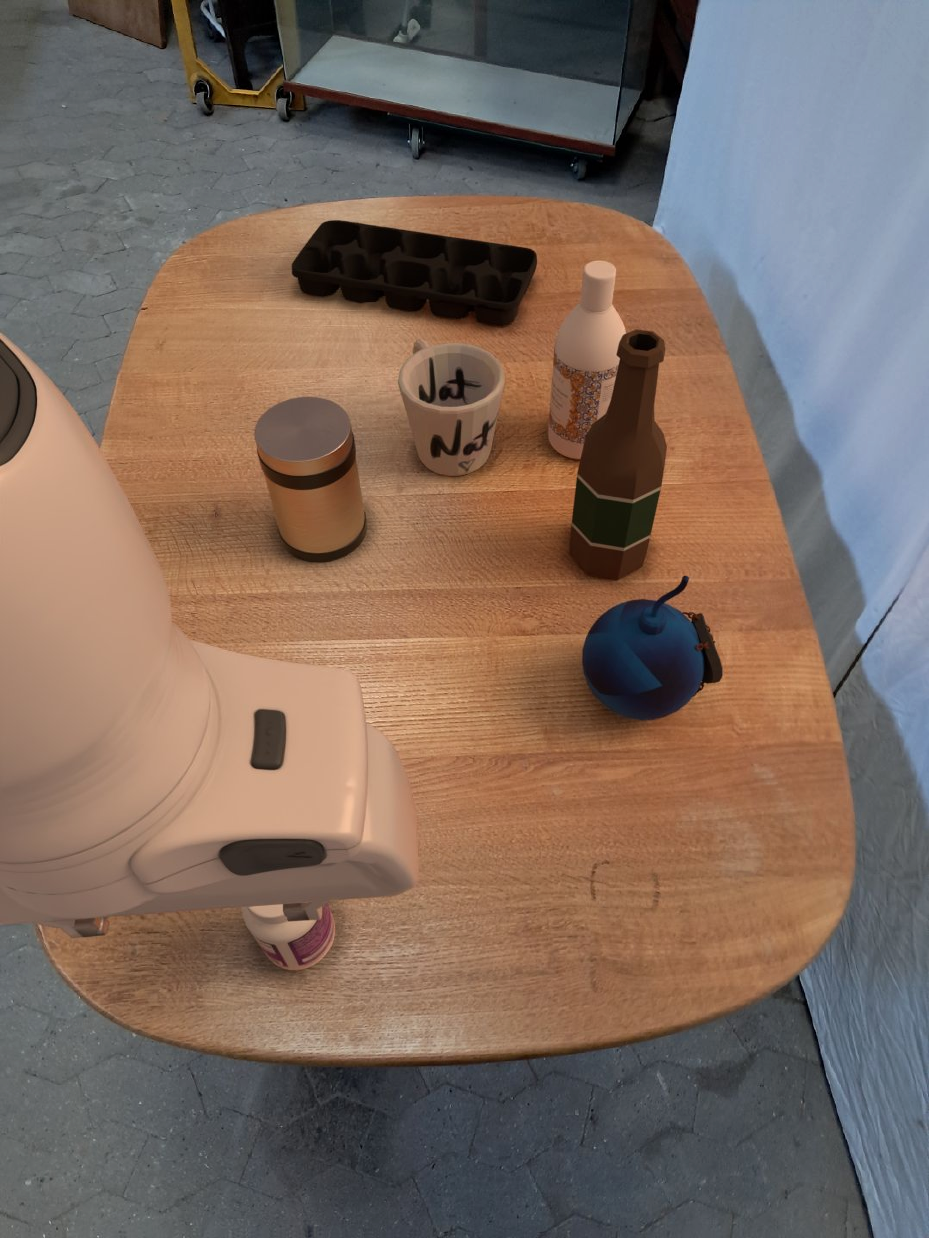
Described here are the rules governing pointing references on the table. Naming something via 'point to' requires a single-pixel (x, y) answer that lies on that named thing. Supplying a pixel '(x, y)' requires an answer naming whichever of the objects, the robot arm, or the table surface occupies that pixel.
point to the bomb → (649, 657)
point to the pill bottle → (290, 935)
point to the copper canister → (312, 477)
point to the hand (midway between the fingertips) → (200, 911)
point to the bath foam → (585, 361)
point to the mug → (452, 404)
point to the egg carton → (416, 271)
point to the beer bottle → (621, 467)
